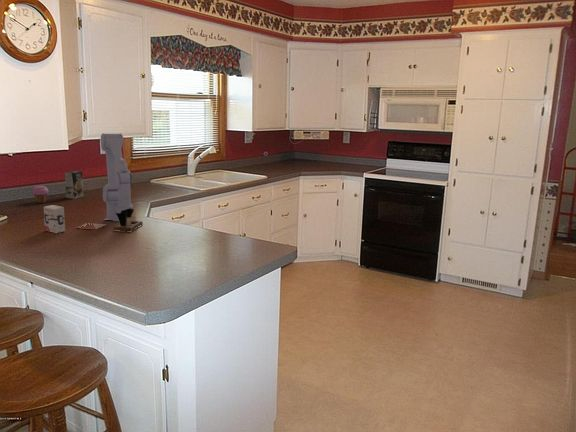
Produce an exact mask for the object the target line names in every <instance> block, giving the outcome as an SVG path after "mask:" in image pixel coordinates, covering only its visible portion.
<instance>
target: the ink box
mask: <svg viewBox="0 0 576 432" xmlns="http://www.w3.org/2000/svg"><path fill="white" fill-rule="evenodd" d="M43 219H44V231H45V230H46V231H50V232H54V233H58V232H63V231H65V232H66V221H65V220H66V218H65V207H64V206H59V205H55V204H51V205H46V206H43ZM46 231H45V232H46ZM50 232H49V233H50ZM54 233H53V234H54Z"/></svg>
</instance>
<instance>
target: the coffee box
mask: <svg viewBox="0 0 576 432" xmlns="http://www.w3.org/2000/svg"><path fill="white" fill-rule="evenodd" d="M64 179H65V185H64V186H65V198H66V199H74V200H75V199H78V198H82V197H84V180H83V171H80V170H79V171H78V170H76V171H75V170H72V171H67V172H64Z"/></svg>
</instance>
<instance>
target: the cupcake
mask: <svg viewBox="0 0 576 432" xmlns="http://www.w3.org/2000/svg"><path fill="white" fill-rule="evenodd" d="M49 192H50V191H49V188H48V187H46V186H44V185H37V186H33V188H32V190H31V194H32V195H34V200H35V202H36V203H38V204H39V203H42V204H43V203H46V202H47V197H48V195H49Z"/></svg>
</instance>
